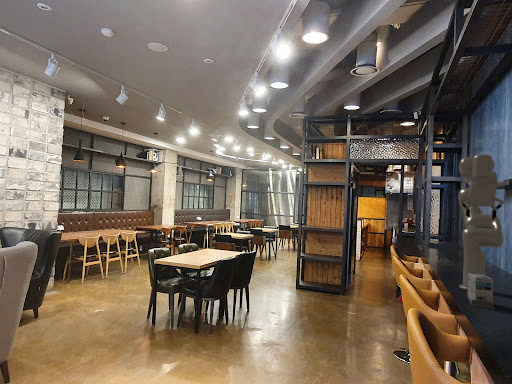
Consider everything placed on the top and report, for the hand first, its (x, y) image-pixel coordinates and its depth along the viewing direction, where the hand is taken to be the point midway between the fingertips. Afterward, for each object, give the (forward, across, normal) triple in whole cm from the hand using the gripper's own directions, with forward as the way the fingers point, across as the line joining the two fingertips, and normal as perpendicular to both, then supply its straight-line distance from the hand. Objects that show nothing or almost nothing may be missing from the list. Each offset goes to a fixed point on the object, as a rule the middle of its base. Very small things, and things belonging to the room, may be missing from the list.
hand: (480, 218), depth 162 cm
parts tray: (+36, 0, +12) cm, 38 cm away
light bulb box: (+36, +1, +12) cm, 38 cm away
